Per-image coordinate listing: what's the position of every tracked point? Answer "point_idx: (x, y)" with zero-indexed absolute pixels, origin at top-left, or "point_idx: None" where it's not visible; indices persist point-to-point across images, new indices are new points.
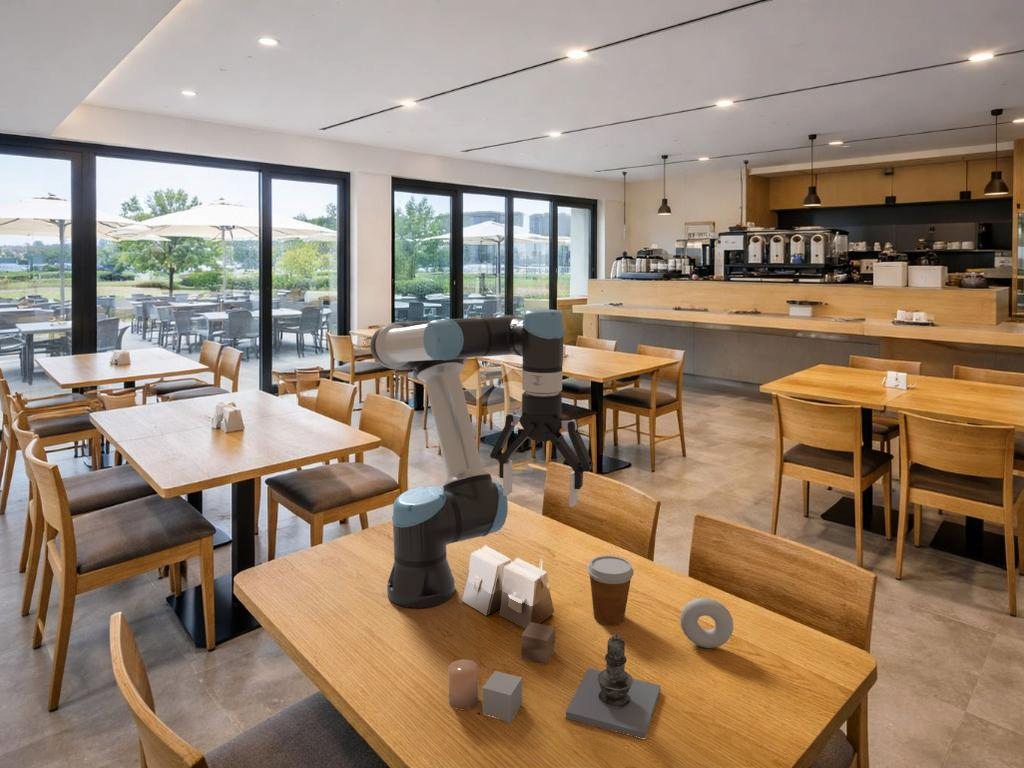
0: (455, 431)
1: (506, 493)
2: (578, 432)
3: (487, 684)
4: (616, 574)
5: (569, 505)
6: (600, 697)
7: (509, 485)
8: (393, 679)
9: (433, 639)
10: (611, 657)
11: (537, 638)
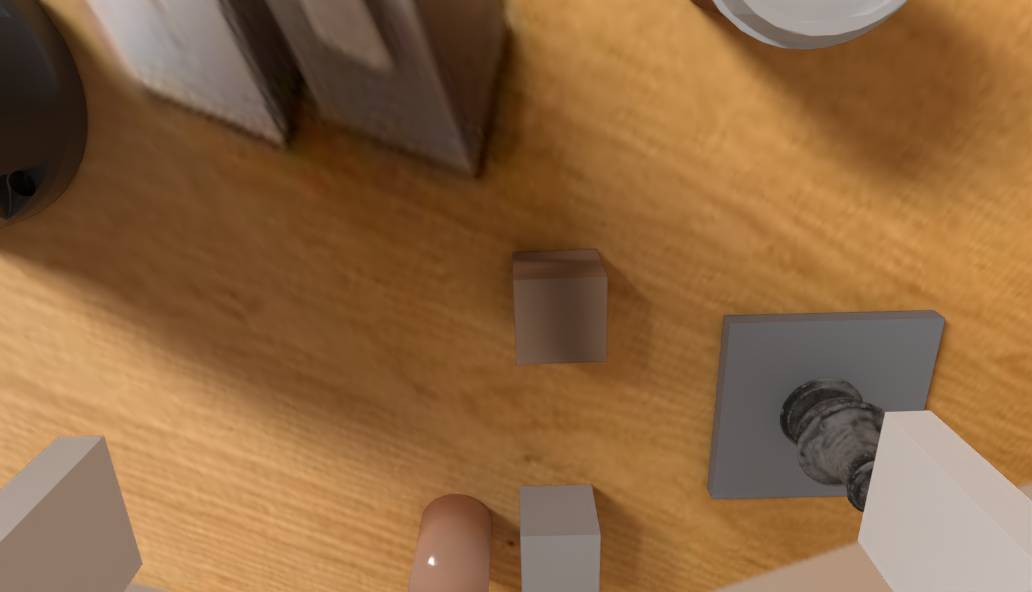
0: None
1: (122, 586)
2: None
3: (527, 584)
4: (882, 17)
5: (866, 549)
6: (786, 430)
7: (61, 585)
8: (256, 525)
9: (222, 346)
10: None
11: (573, 361)
